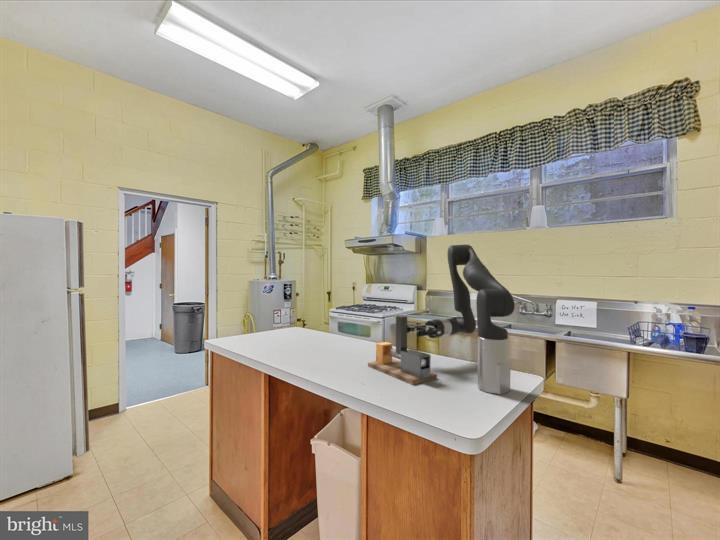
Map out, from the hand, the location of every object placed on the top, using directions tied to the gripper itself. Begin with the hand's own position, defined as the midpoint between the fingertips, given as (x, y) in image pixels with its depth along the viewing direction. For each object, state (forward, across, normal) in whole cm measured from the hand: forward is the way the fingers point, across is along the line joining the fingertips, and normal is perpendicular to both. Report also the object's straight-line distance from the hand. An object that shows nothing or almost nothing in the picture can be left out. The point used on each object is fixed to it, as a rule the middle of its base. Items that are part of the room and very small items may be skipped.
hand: (409, 332), depth 127 cm
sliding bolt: (+4, +3, +10) cm, 11 cm away
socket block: (+4, -10, +14) cm, 18 cm away
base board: (+4, 0, +15) cm, 16 cm away
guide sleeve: (+4, +8, +14) cm, 16 cm away
